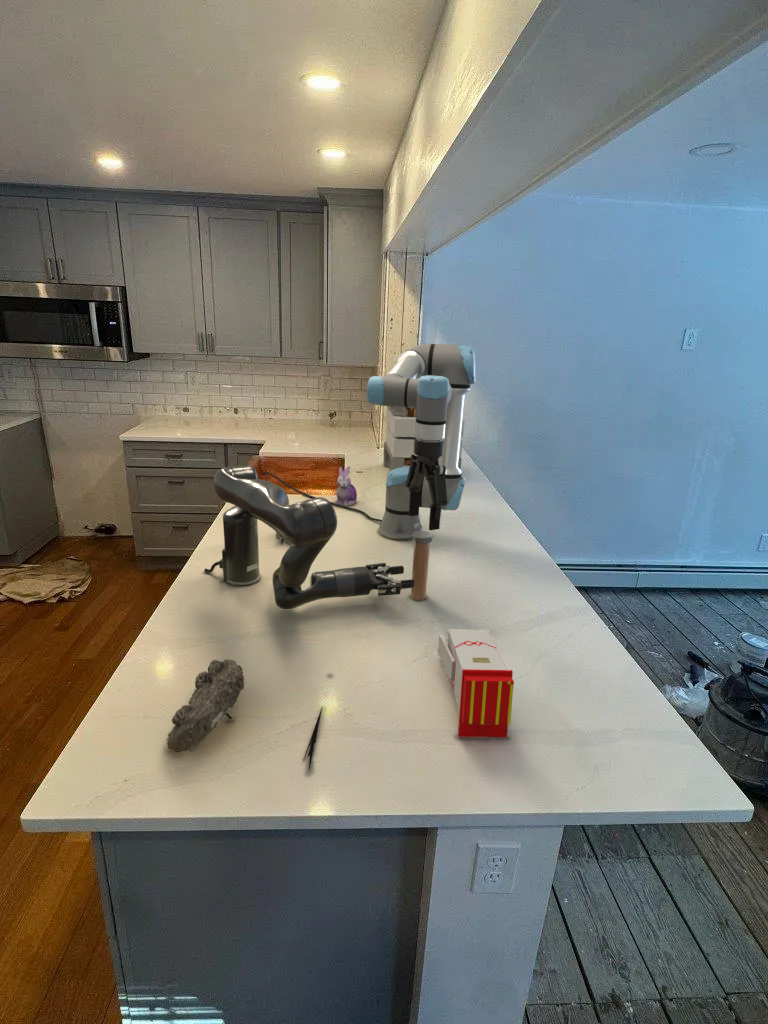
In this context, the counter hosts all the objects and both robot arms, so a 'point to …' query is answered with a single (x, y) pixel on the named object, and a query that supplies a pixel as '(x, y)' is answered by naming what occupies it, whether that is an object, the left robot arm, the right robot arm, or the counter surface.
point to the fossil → (206, 705)
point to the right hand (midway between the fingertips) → (423, 522)
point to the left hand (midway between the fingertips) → (408, 576)
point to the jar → (420, 570)
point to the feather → (313, 740)
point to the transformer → (403, 437)
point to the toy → (478, 682)
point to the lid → (422, 537)
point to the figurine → (345, 488)
